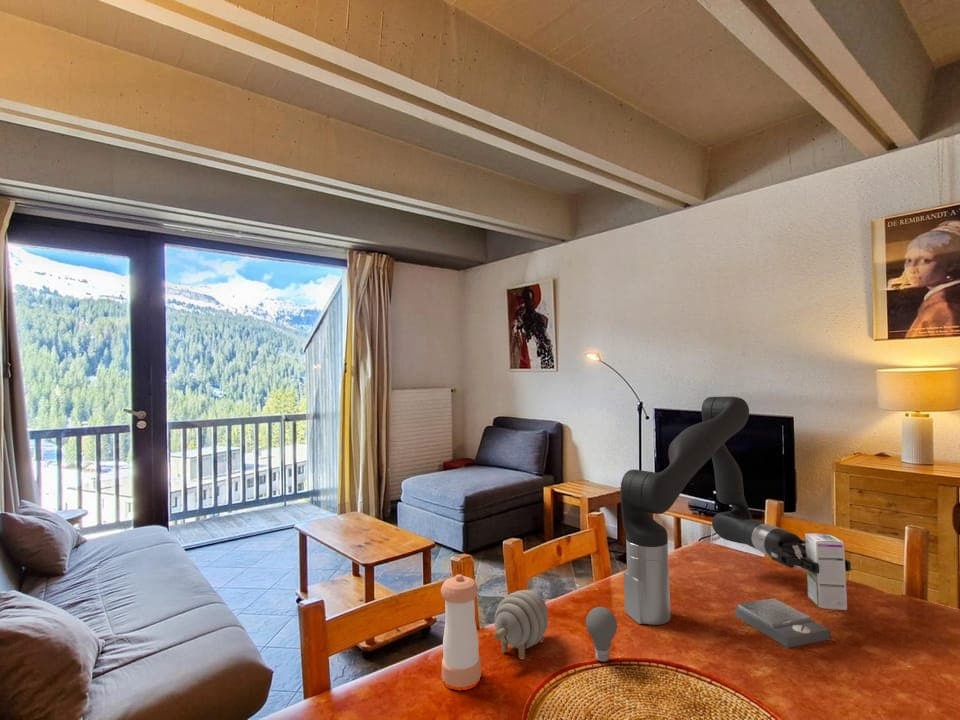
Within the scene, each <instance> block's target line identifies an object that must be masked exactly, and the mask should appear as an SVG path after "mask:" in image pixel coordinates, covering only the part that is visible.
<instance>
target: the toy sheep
mask: <svg viewBox="0 0 960 720" xmlns="http://www.w3.org/2000/svg"><path fill="white" fill-rule="evenodd" d="M548 611H549V610H548V606H547V604H546V600H545V599H543V597H542V596H540V595H539V593H537V592H536V591H533V590H530V589H523V590H517V591H514V592H511V593H509V594H508V595H506V596H505V597H504V598H503V599H502V600H501V601H500V602H499V604H498V605H497V609H496V611H495V614H494V626H495V630H496V631H495V632H494V634H493V636H494V639H495V640H497V641H500V640H501V641H500V643H501V644H500V645H501V652H502V651H503V652H506V651H508V652H509V650H508V649H509V648H508V647H509V646H511V647H514V648H516V649H517V650H518V658H519V657H520V658H524V659H526V649H529V648H531V647H533V646H535V645H537V644H539V643H540V642H539V641H543V642H544V634H545V633H546V631H547V629H548V623H549V619H548V617H549V612H548ZM508 645H509V646H508Z"/></svg>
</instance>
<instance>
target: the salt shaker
mask: <svg viewBox="0 0 960 720" xmlns="http://www.w3.org/2000/svg"><path fill="white" fill-rule="evenodd" d="M440 594H441V597H442V599H443V600H444V601H445V609H444V610H445V613H444V615H445V622H444V631H443V639H442V648H443V657H442V661H441V680H442V679H443V681H445V683H447V684H449V685H451V686H455V687H466V686H470V685H472V684H475V683H476V682H477V681H478V680H479V679H480V677H481V678H482V669H481V668H482V666H481V664H482V661H481V657H480V655H479V636H478V630H477V623H476V617H475V614H476V613H475V612H476V611H475V599H476V598H477V596H478V594H479V587H478V584H477V583H476V581H475V579H474V578H472V577H469V576H464V575H463V574H460V573H458V574H456V575H455V576H453V577H450V578H447V579H446V580H445V581H444V582H443V583H442V585H441V588H440Z"/></svg>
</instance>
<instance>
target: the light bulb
mask: <svg viewBox="0 0 960 720" xmlns="http://www.w3.org/2000/svg"><path fill="white" fill-rule="evenodd" d="M585 626H586V629H587V632H588V634H589V635H590V637H591V639H592V641H593V642H592V643H593V646H594V648H595V659H596V660H597V661H600V662H607V661H609V660H610V648H611V645H612V641H613V639H614V637H615V635H616V633H617V631H618V621H617V619H616V617H615V615H614V613H613V612H612V611H611V610H610V609H608V608H606V607H604V606H596V607H594V608H592V609H591V610H590V611H589V612H588V613H587V616H586V619H585Z"/></svg>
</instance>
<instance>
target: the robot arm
mask: <svg viewBox="0 0 960 720" xmlns="http://www.w3.org/2000/svg"><path fill="white" fill-rule="evenodd" d="M749 417H750V408H749V405H748V403H747V402H746V401H745V400H744V399H743V398H741V397H738V396H709V397H706V398H705V399H704V400H703V402H702V405H701V419H702V422H699V423H698V422H697V423H695V424H693V425H691V426H688V427H687V428H685V429H683V430H682V431H680V433H679V434H678V435H677V436H676V437H675V438H673V440H672V441H671V443H670V444H669V446H668V447H669V448H668V454H667V455H668V459H669V460H668V461H669V465H668V466H667V467H666V468H664V470H662V471H659V472H655V471H648V470H642V469H630V470H627V471H626V472H625V473H624V474H623V477H622V479H621V483H620V488H619V489H620V505H621V518H622V526H623V529H624V532H625V541H626V542H625V543H626V570H625V571H623V591H624V592H623V593H624V597H623V598H624V612H625V614H626V615H628V616H629V617H630V618H631V619H632V620H633V621H635V622H636V623H637V624H639V625H641V624H642V625H643V624H645V625H653V626H655V625H656V626H657V625H665V624H666V623H669V621H671V599H670V598H671V596H670V595H671V593H670V569H669V545H668V544H669V542H668V541H669V537H668V535H669V534H668V531H667V529H666V528H665V527H664V526H663V525H661V524H660V523H658V521H656V520H655V519H654V518H653V517H652V516H651V515H650V514H653V515H661V514H664V513H666V512H667V511H669V510H670V509H671V508H672V506H673V505H674V504H675V502H676V501H677V499H678V498H679V496H680V495H681V493H682V492H683V490H684V489H685V487H686V486H687V484H688V483H689V482H690V480H692V479H693V477H695V475H696V474H697V472H698V471H699V470H700V469H702V468H703V466H705V465H706V463H707V462H708V461H709V460H710V459H711V461H712V465H713V471H714V480H715V481H714V483H715V491H716V493H715V494H716V499H717V501H718V502H719V503H722V504H724V505H730V506H731V508H732V509H731V510H728V511H722V512H718V513H716V514H715V515H714V516H713V517H712V520H711V526H712V529H713V530H714V533H716V534H717V536H719V538H721V539H723V540H726V541H729V542H733V543H737V544H742V545H747V546H748V547H751V548H753V549H755V550H757V551H759V552H760V553H762V554H764V555H765V556H768V557H770V558H771V560H772V561H775V562H777V563H779V564H781V565H783V566H786V567H787V568H790V569H792V568H794V567H797V568H798V569H804V570H806V571H807V570H808V571H810V572H812V573H815V574H817V573H819V564H818V563H816V562H814V561H811V560H809V559H807V558H806V543H804V542H803V540H802V539H801V538H800V537H799V535H797V534H796V533H793V532H791V531H787V530H785V529H783V528H781V527H778V526H775V525H772V524H771V525H770V524H767V523H765V522H762V521H760V520H756V519H753V515H752V513H751V511H750V509H749V506H748V503H747V500H746V498H745V495H744V494H745V493H744V492H745V490H744V480H743V475H742V470H741V469H740V466H739V464H738V463H737V461H736V460H735V458H734V457H733V455H732V454H731V452H730V450H729V449H728V448H727V446H726V444H725V443H726V442H727V441H728V440H729V439H731V438H732V437H733V436H734V435H735V434H737V433H738V432H740V431H741V430H742V429H744V427H745V426H746V424H747V422H748V421H749ZM851 568H852V566H851V562H850V560H848V559H846V558H845V572H851V571H852V569H851Z"/></svg>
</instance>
